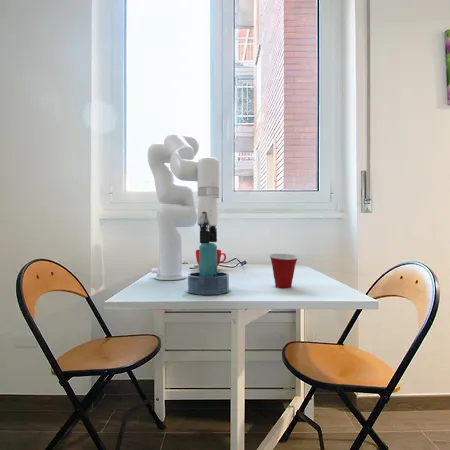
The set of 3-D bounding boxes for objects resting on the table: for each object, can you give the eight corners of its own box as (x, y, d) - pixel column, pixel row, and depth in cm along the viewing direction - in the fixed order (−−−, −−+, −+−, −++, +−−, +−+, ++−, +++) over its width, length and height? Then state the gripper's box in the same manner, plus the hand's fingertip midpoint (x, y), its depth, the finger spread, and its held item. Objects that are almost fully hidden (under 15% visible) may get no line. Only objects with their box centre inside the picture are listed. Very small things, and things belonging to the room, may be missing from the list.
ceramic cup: (218, 272, 168) (218, 251, 168) (190, 270, 177) (190, 250, 177) (232, 269, 179) (232, 250, 179) (205, 267, 188) (205, 248, 188)
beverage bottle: (215, 292, 119) (215, 233, 119) (196, 292, 120) (196, 233, 120) (219, 289, 125) (219, 233, 125) (201, 288, 127) (201, 233, 126)
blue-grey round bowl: (186, 295, 115) (186, 277, 115) (189, 287, 130) (189, 271, 130) (229, 295, 116) (229, 277, 116) (227, 287, 130) (227, 271, 130)
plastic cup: (280, 290, 124) (280, 256, 124) (263, 285, 134) (263, 254, 134) (304, 288, 129) (304, 255, 129) (286, 283, 139) (286, 253, 139)
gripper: (205, 195, 132) (205, 241, 132) (189, 191, 115) (190, 243, 115) (224, 195, 130) (225, 241, 130) (212, 190, 113) (212, 244, 113)
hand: (208, 242), depth 122 cm, fingers open, 9 cm apart
